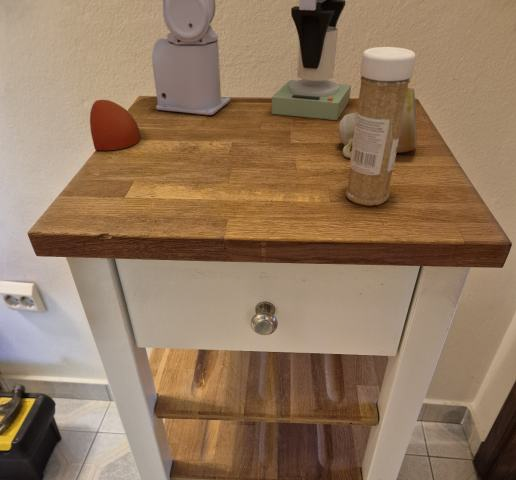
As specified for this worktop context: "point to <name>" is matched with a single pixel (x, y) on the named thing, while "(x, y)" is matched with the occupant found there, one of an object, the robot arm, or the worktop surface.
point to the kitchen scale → (311, 99)
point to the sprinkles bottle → (378, 122)
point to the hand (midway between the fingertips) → (315, 63)
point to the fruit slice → (112, 126)
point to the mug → (406, 132)
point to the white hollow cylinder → (326, 61)
